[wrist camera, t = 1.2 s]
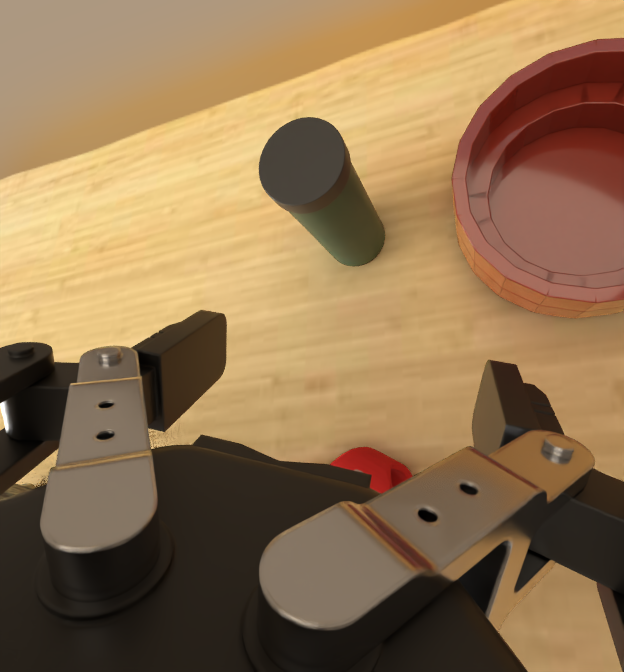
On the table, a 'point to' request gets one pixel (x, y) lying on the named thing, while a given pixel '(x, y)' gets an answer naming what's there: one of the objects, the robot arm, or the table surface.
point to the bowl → (548, 184)
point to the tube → (322, 189)
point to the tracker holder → (374, 467)
